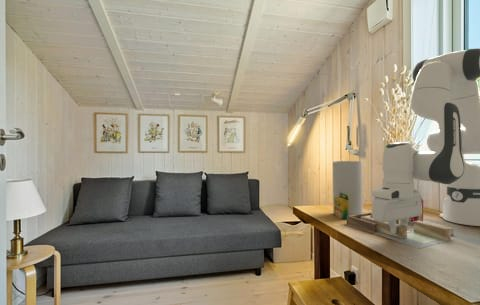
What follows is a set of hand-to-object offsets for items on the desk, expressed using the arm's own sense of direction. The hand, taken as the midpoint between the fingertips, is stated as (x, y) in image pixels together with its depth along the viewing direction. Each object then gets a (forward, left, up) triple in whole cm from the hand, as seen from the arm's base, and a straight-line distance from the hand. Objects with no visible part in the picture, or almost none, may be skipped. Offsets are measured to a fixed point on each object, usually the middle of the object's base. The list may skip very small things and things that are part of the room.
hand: (398, 231), depth 86 cm
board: (-5, -5, -3) cm, 8 cm away
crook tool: (-3, -6, -1) cm, 7 cm away
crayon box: (-2, -27, -3) cm, 27 cm away
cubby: (-3, -12, -2) cm, 13 cm away
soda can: (-23, -10, -3) cm, 25 cm away
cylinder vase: (-11, -32, -3) cm, 34 cm away
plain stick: (-11, +4, -2) cm, 12 cm away
